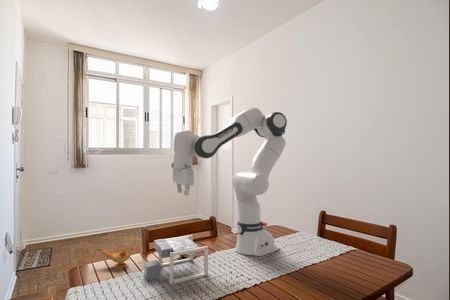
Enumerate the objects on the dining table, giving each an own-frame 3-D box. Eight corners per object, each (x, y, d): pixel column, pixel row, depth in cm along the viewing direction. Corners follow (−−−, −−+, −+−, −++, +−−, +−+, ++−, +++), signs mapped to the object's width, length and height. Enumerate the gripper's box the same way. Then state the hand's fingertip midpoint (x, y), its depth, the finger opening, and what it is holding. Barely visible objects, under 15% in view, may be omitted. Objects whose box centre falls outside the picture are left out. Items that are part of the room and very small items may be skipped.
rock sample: (189, 254, 111) (183, 237, 117) (177, 264, 112) (171, 247, 118) (203, 257, 118) (197, 241, 124) (191, 267, 119) (185, 250, 125)
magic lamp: (100, 262, 112) (100, 237, 112) (140, 262, 111) (140, 237, 112) (91, 268, 105) (92, 242, 105) (134, 269, 104) (134, 242, 105)
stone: (157, 272, 102) (157, 259, 102) (160, 277, 97) (160, 264, 98) (144, 275, 99) (144, 262, 100) (146, 280, 95) (146, 267, 95)
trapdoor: (186, 241, 112) (186, 234, 112) (199, 251, 99) (199, 244, 99) (153, 246, 105) (153, 239, 105) (162, 259, 92) (162, 250, 92)
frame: (191, 259, 115) (191, 234, 115) (208, 275, 99) (208, 246, 99) (158, 266, 107) (158, 240, 108) (170, 284, 92) (170, 253, 92)
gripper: (197, 164, 112) (197, 196, 111) (182, 164, 130) (182, 191, 129) (183, 165, 109) (183, 197, 108) (170, 164, 127) (170, 191, 126)
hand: (182, 193), depth 119 cm, fingers open, 8 cm apart
